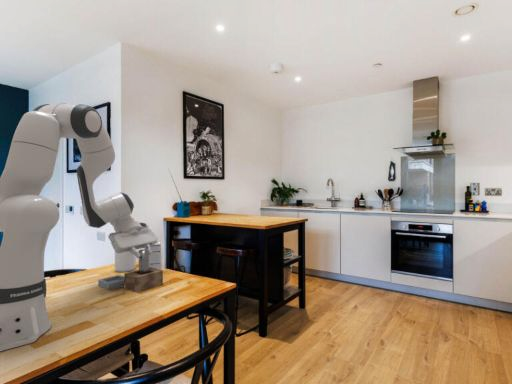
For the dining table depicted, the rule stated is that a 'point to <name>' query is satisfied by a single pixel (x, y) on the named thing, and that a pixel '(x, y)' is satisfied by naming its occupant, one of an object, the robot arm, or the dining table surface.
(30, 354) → the dining table surface
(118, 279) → the slate tray
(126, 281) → the walnut hollow rectangular frame
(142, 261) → the steel axle
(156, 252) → the syrup box
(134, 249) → the robot arm
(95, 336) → the dining table surface
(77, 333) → the dining table surface
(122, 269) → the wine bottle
